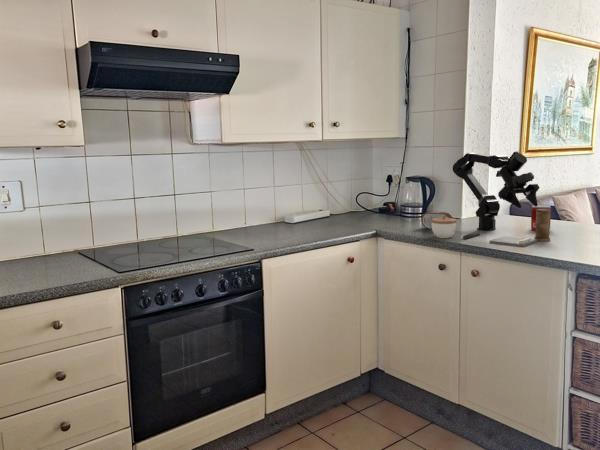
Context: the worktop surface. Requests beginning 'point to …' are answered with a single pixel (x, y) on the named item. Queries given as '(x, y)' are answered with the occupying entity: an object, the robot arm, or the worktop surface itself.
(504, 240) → the panel
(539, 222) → the mill
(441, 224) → the lidded jar
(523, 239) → the set of cream blocks
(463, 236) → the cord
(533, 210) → the canned food
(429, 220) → the tan curved piece
